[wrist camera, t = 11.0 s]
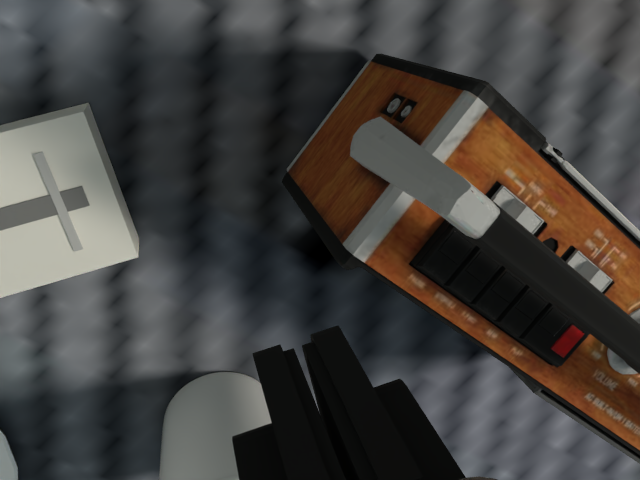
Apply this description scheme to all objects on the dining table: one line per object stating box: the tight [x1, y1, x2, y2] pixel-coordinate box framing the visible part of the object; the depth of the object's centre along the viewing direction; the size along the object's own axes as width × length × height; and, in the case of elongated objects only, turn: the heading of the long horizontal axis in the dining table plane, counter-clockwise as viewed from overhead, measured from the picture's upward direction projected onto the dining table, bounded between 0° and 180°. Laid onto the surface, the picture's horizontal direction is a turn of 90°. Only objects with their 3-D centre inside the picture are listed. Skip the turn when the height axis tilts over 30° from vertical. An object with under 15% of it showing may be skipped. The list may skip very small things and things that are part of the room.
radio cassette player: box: [282, 54, 640, 463], centre depth 36 cm, size 29×10×20 cm, turn 51°
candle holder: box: [159, 372, 272, 480], centre depth 41 cm, size 10×10×12 cm
